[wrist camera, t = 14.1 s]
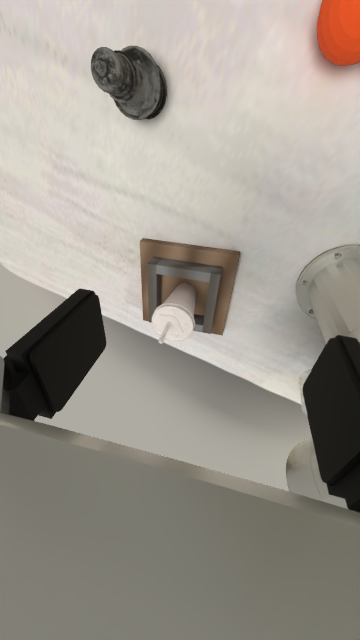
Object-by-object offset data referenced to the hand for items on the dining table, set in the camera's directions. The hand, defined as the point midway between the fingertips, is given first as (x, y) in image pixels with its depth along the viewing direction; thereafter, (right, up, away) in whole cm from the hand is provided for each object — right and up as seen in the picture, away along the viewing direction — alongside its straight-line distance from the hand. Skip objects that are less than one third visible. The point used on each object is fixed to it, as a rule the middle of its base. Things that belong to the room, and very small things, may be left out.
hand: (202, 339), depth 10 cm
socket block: (0, +7, +34) cm, 34 cm away
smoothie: (0, +6, +33) cm, 33 cm away
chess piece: (-5, +29, +19) cm, 35 cm away
